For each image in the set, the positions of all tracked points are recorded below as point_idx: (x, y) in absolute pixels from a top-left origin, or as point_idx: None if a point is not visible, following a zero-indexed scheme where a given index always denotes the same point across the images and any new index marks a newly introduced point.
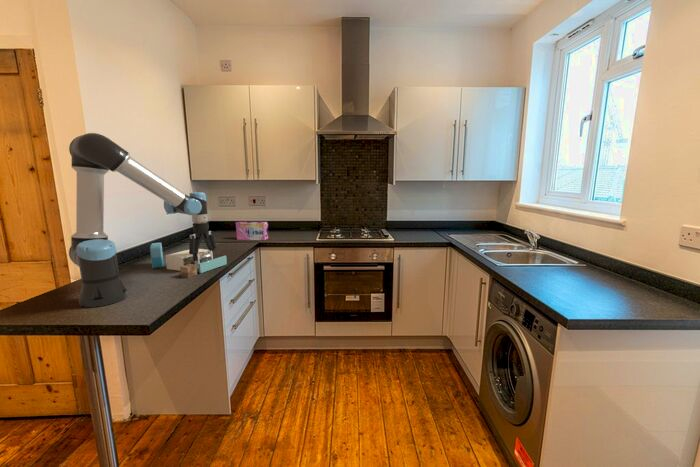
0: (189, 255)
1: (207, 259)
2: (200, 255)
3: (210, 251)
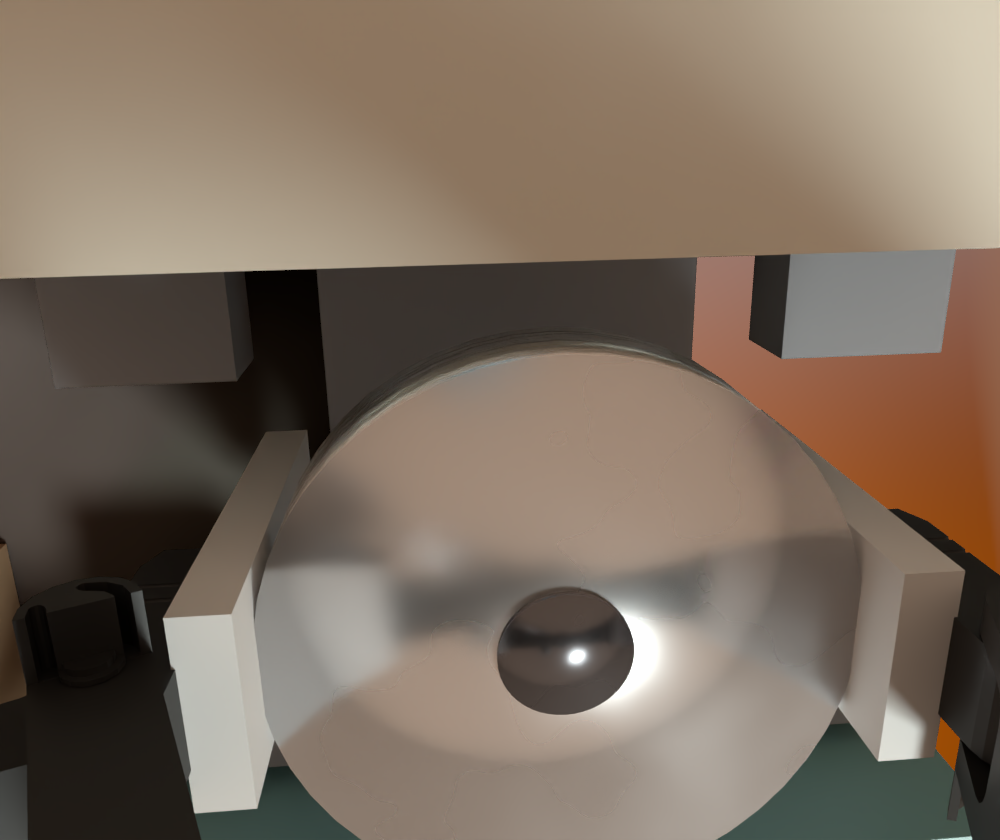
0: (164, 272)
1: (860, 265)
2: (370, 707)
3: (870, 717)
